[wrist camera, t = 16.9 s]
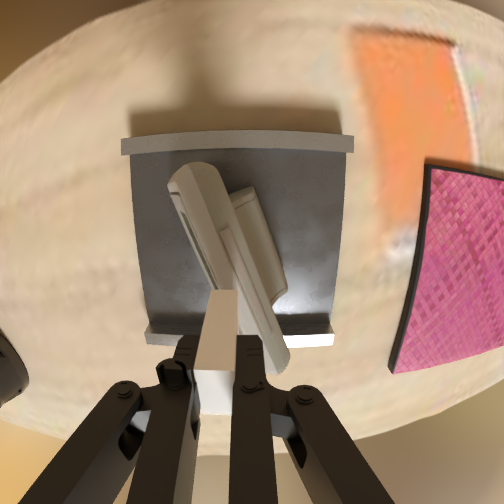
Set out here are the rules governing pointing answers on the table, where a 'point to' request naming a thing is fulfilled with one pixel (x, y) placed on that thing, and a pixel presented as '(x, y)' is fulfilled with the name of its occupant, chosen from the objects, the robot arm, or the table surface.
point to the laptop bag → (454, 272)
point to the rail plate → (275, 212)
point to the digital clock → (234, 252)
